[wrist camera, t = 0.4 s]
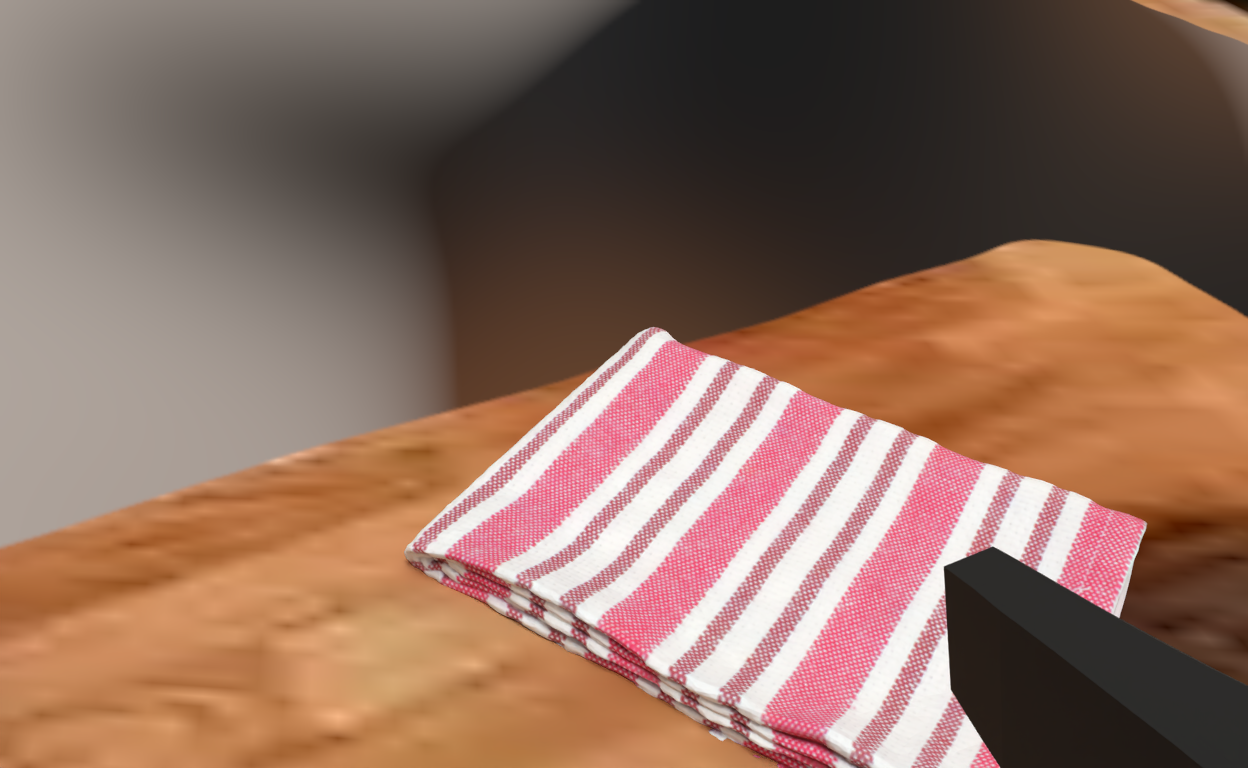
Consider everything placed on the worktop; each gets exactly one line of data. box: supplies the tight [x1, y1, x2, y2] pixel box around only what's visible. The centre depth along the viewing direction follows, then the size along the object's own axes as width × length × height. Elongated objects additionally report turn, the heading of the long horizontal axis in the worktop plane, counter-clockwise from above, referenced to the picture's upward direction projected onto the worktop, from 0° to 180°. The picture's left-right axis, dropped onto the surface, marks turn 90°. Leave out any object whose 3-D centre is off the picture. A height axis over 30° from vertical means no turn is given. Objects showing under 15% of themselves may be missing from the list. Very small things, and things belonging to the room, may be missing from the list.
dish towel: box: [404, 327, 1147, 768], centre depth 39 cm, size 17×23×4 cm
